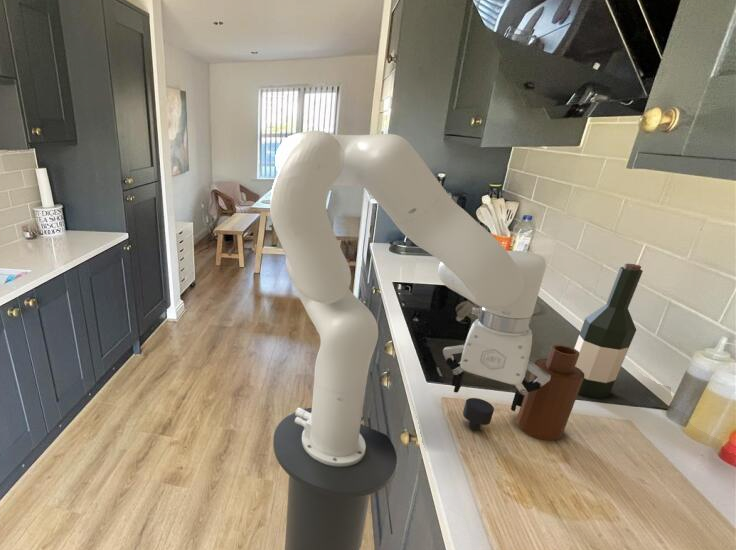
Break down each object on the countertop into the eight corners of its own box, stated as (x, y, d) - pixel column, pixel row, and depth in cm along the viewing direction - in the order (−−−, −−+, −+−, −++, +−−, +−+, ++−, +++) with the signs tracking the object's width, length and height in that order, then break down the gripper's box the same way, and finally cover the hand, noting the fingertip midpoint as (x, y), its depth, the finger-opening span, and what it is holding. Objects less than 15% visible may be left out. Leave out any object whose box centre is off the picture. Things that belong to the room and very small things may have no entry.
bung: (457, 428, 81) (463, 406, 79) (463, 416, 84) (468, 395, 82) (484, 438, 78) (491, 415, 76) (489, 426, 81) (496, 404, 79)
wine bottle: (558, 387, 93) (602, 265, 82) (566, 374, 98) (608, 257, 87) (605, 403, 87) (660, 274, 76) (611, 388, 92) (663, 265, 81)
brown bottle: (513, 429, 80) (539, 351, 73) (518, 411, 85) (542, 337, 78) (560, 446, 76) (591, 364, 69) (562, 426, 81) (591, 348, 74)
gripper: (446, 315, 74) (431, 391, 81) (564, 340, 64) (536, 426, 70) (456, 302, 80) (441, 375, 86) (566, 324, 69) (540, 405, 75)
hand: (484, 398), depth 78 cm, fingers open, 9 cm apart
